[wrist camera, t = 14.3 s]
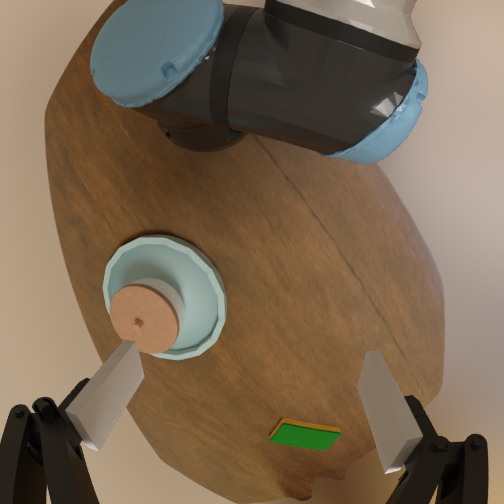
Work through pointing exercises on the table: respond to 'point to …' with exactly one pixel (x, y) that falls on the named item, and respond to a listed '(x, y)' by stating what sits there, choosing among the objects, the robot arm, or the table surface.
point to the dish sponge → (304, 434)
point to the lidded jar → (148, 314)
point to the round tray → (181, 279)
